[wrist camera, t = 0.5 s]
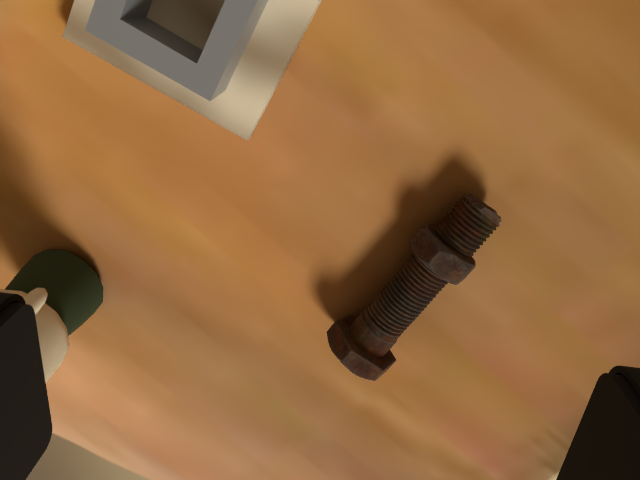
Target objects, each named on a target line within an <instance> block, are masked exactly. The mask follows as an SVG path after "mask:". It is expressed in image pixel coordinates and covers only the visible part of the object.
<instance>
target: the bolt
mask: <svg viewBox="0 0 640 480" xmlns="http://www.w3.org/2000/svg"><path fill="white" fill-rule="evenodd" d="M460 199H461V202H457V203H458V206H456V205H454V209H451V213H448V217H445V220H442V224H439V228H438V227H435V226H433V225H427V226H424V227H423V228H421V229H420V230H419V231H418V232H417V233H416V235H415V236H414V237H413V238H412V239H411V241H410V244H411V249H412V251H413V253H414V255H412V256H411V259H408V262H405V266H402V269H400V270H399V272H398V273H396V275H395V276H394V277H393V279H391V282H388V285H386V286H385V288H384V289H383V290H382V292H380V294H379V295H378V296H377V297H376V298H375V299H374V301H373V302H371V304H370V305H369V306H368V307H367V308H366V309H365V310H364V311H362V312H361V313H360V315H359V316H358V317H357V318H356V319H355V318H353V317H352V316H350V315H348V316H346V317H344V318H342V319H340V320H338V321H336V322H335V323H334V324H333V325H332V326H331V327H330V329H329V330H328V331H327V336H328V342H329V346H330V348H331V350H332V352H333V353H334V354H335V356H336V357H337V358H338V359H339V360H340V362H341V363H342V364H343V365H344V366H345V367H347V368H348V369H349V370H350V371H351V372H352V373H354V374H355V375H357V376H359V377H362V378H364V379H368V380H373V381H376V380H377V379H378V378H379V377H380V376H381V375H383V374H384V373H385V372H386V371H387V370H388V369H389V367H390V366H391V365H392V364H393V363H394V362H395V361H396V359H395V357H394V356H393V354H392V352H391V351H390V348H391V347H392V346H393V345H394V344H395V343H396V341H397V339H398V337H399V336H400V335H401V334H402V333H403V332H404V330H406V328H407V327H408V326H409V325H410V324H411V323H412V321H414V320H415V319H416V318H417V317H418V315H419V314H421V312H422V311H423V310H424V308H426V307H427V305H428V304H429V303H430V301H432V300H433V298H435V297H436V294H438V293H439V291H441V290H442V288H444V287H445V284H447V283H451V284H454V285H457V284H459V283H460V282H461V281H462V280H463V279H464V278H465V277H466V276H467V275H468V274H469V273H470V272H471V271H472V270H473V269H474V268H475V261H474V259H473V258H472V256H473V252H476V249H479V248H480V246H479V245H483V241H486V238H489V237H490V236H489V234H493V231H492V230H496V227H499V222H501V217H500V216H498V215H497V212H496V211H495V210H494V209H492V208H491V207H489V206H488V205H486V204H485V203H484V202H482V201H481V200H479V199H478V198H477V197H475V196H473V195H472V194H469V195H464V198H460Z"/></svg>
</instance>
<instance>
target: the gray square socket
mask: <svg viewBox="0 0 640 480" xmlns="http://www.w3.org/2000/svg"><path fill="white" fill-rule="evenodd" d="M152 1H153V0H95V2H94V5H93V8H92V11H91V14H90V17H89V20H88V23H87V25H86V28H85V31H87V32H89V33H91V34H92V35H94V36H96V37H98V38H99V39H101V40H103V41H105V42H107V43H108V44H110V45H112V46H114V47H115V48H117V49H119V50H121V51H122V52H124V53H126V54H128V55H129V56H131V57H133V58H135V59H136V60H138V61H140V62H142V63H143V64H145V65H147V66H149V67H151V68H152V69H154V70H156V71H158V72H159V73H161V74H163V75H165V76H166V77H168V78H170V79H172V80H173V81H175V82H177V83H179V84H180V85H182V86H184V87H186V88H188V89H189V90H191V91H193V92H195V93H196V94H198V95H200V96H202V97H203V98H205V99H207V100H209V101H211V100H213V99H214V98H216V97H217V96H218V95H220V94H221V93H223V92H224V91H225V90H226V88H227V86H228V84H229V82H230V80H231V78H232V75H233V73H234V71H235V69H236V67H237V65H238V63H239V61H240V59H241V57H242V54H243V52H244V50H245V48H246V46H247V44H248V42H249V40H250V38H251V36H252V34H253V31H254V29H255V27H256V25H257V23H258V21H259V19H260V17H261V15H262V13H263V10H264V8H265V6H266V4H267V2H268V0H225V2H224V4H223V6H222V8H221V11H220V13H219V15H218V17H217V20H216V22H215V24H214V26H213V29H212V31H211V33H210V35H209V38H208V40H207V42H206V44H205V47H204V49H203V50H202V49H200V48H198V47H196V46H195V45H193V44H191V43H190V42H188V41H186V40H184V39H183V38H181V37H179V36H178V35H176V34H174V33H172V32H171V31H169V30H167V29H166V28H164V27H162V26H160V25H159V24H157V23H155V22H154V21H152V20H150V19H148V18H147V17H146V16H147V13H148V11H149V8H150V6H151V3H152Z"/></svg>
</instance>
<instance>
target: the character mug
mask: <svg viewBox="0 0 640 480" xmlns="http://www.w3.org/2000/svg"><path fill="white" fill-rule="evenodd" d="M0 292H4V293H12V294H19V295H21V296H22V297H23V298H24V300H25V302H26V304H29V305H31V306H32V307H33V309H34V312H35V317H36V324H37V330H38V337H39V343H40V350H41V356H42V363H43V369H44V376H45V383H46V382H47V381H48V380H49V378H50V377H51V376H52V375H53V373H54V372H55V371H56V370H57V368H58V367H59V366H60V365H61V363H62V361H63V360H64V358H65V355H66V352H67V350H68V347H69V339H68V336H69V335H70V334H71V333H72V332H74V331H75V330H76V329H77V328H78V327H80V326H81V325H82V324H83V323H84V322H85V321H86V320H87V319H88V318H89V317H90V316H92V315H93V314H94V313H95V311H96V310H97V309H98V307H99V306H100V305H101V303H102V302H103V286H102V284H101V282H100V280H99V278H98V276H97V274H96V273H95V272H94V271H93V270H92V269H91V268H90V267H89V266H88V265H87V264H86V263H85V262H84V261H83V260H82V259H80V258H78V257H77V256H75V255H73V254H71V253H70V252H68V251H66V250H46V251H44V252H41V253H39V254H36V255H34V256H33V257H32V258H31V259H30V261H29V262H28V263H27V264H26V265H25V266H24V267H23V268H22V269H21V270H20V271H19V273H18V274H17V275H16V276H15V277H14V279H13V280H12V281H11V282H10V284H9V285H8V286H7V287H6V289H5V290H3V289H0Z"/></svg>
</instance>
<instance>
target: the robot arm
mask: <svg viewBox="0 0 640 480" xmlns="http://www.w3.org/2000/svg"><path fill="white" fill-rule="evenodd" d="M51 435H52V422H51V415H50V409H49V402H48V396H47V389H46V383H45V376H44V369H43V363H42V356H41V350H40V343H39V337H38V330H37V324H36V317H35V312H34V309H33V307H32V306H31V305H29V304H26V302H25V300H24V298H23V297H22V296H21V295H19V294H12V293H4V292H0V480H26V478H27V477H28V475H29V474H30V472H31V471H32V469H33V468H34V466H35V465H36V463H37V462H38V460H39V459H40V457H41V456H42V454H43V453H44V452H45V450H46V448H47V446H48V444H49V442H50V438H51ZM556 480H640V368H635V367H626V366H615V367H614V368H612V369H611V370H610V372H609V373H604V374H602V375H601V376H600V377H599V379H598V381H597V383H596V385H595V388H594V390H593V393H592V395H591V397H590V400H589V402H588V405H587V407H586V410H585V412H584V414H583V417H582V419H581V422H580V424H579V426H578V429H577V431H576V434H575V436H574V438H573V441H572V443H571V446H570V448H569V450H568V453H567V455H566V458H565V460H564V462H563V465H562V467H561V470H560V472H559V475H558V477H557V479H556Z"/></svg>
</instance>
